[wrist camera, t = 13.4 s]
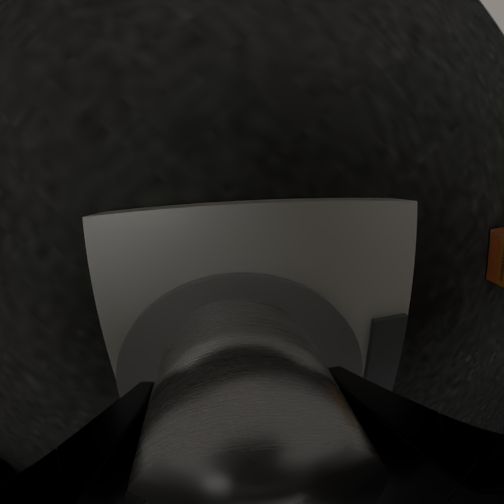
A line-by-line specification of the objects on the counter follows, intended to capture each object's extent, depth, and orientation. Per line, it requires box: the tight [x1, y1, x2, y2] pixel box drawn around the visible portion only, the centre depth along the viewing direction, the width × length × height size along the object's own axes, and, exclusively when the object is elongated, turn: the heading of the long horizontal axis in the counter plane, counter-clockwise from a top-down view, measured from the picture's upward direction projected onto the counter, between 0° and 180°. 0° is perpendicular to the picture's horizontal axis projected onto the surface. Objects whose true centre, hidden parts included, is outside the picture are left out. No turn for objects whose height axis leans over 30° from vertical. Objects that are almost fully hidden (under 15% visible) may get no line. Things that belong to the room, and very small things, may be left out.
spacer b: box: [125, 298, 388, 504], centre depth 6 cm, size 4×4×5 cm
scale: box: [82, 198, 417, 398], centre depth 12 cm, size 14×12×3 cm
